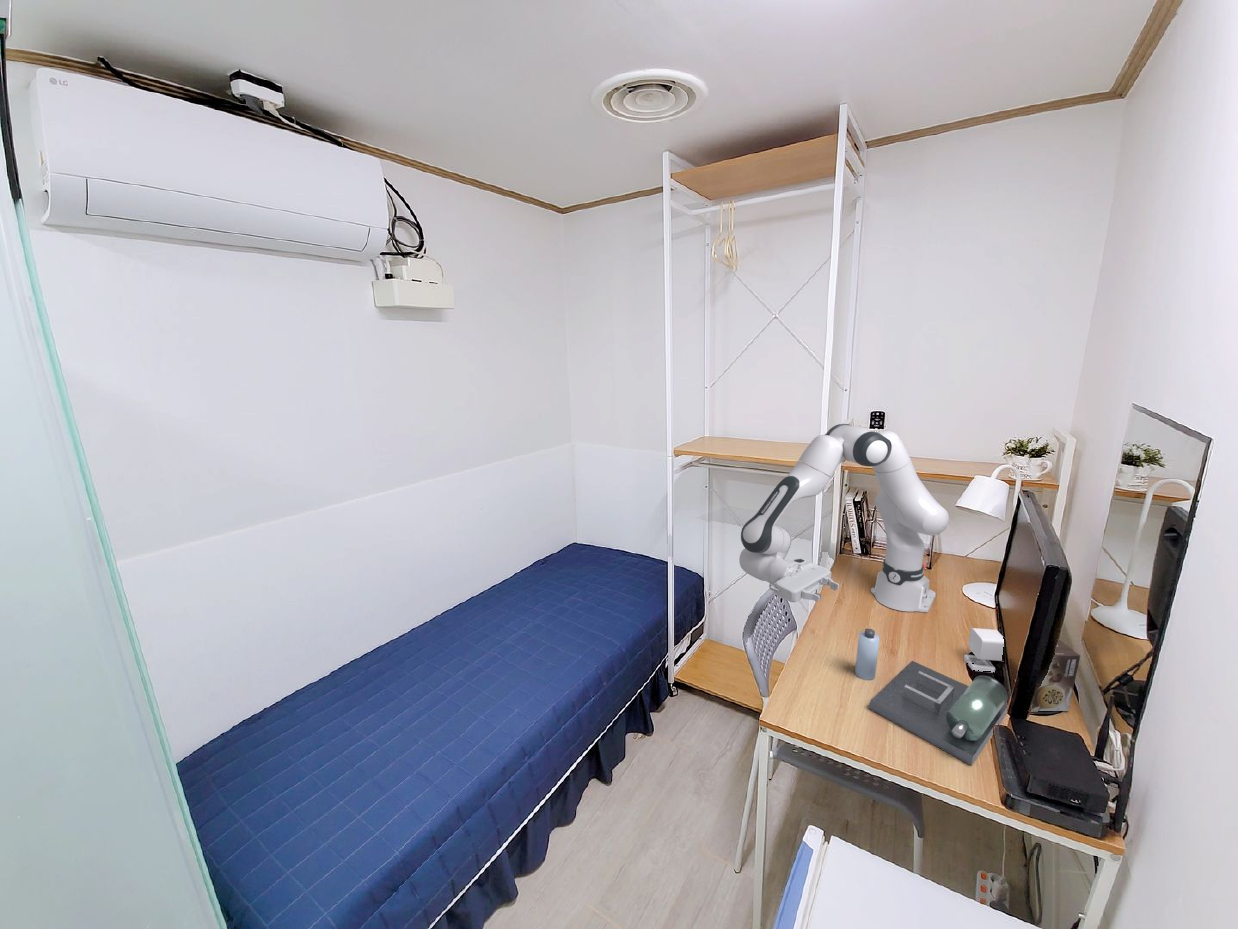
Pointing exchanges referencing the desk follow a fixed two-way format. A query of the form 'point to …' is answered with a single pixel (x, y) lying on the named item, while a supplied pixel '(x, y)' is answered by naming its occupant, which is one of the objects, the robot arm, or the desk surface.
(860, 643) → the capped plastic bottle
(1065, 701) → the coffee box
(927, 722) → the motor mount
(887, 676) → the desk surface
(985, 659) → the security camera
